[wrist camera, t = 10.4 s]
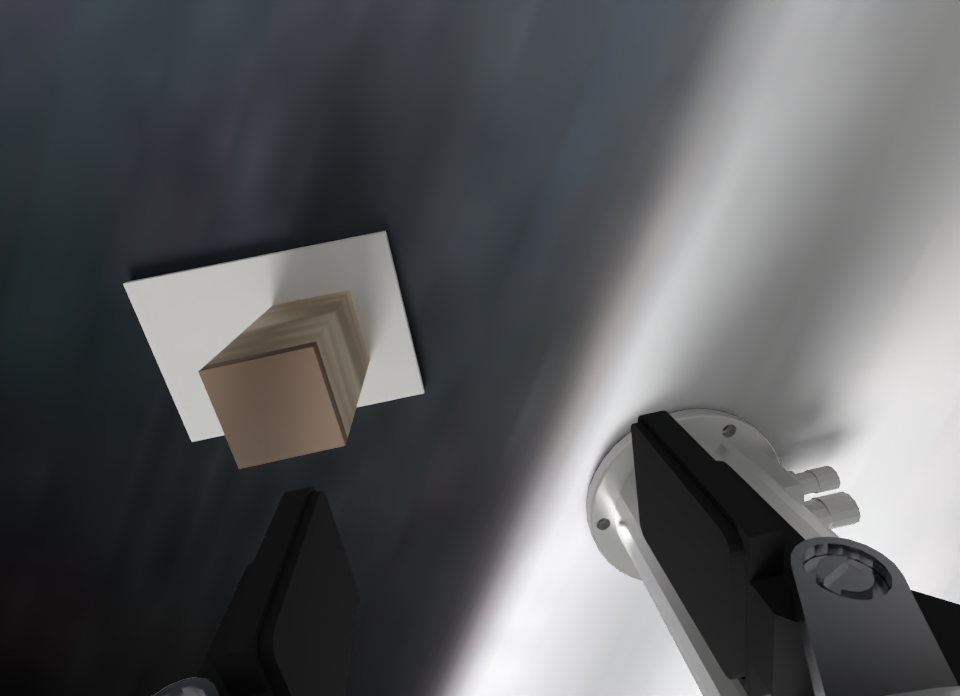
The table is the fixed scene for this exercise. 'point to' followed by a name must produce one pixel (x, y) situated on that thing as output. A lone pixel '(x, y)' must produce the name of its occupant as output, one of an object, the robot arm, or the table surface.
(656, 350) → the table surface
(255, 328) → the block
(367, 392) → the mat
